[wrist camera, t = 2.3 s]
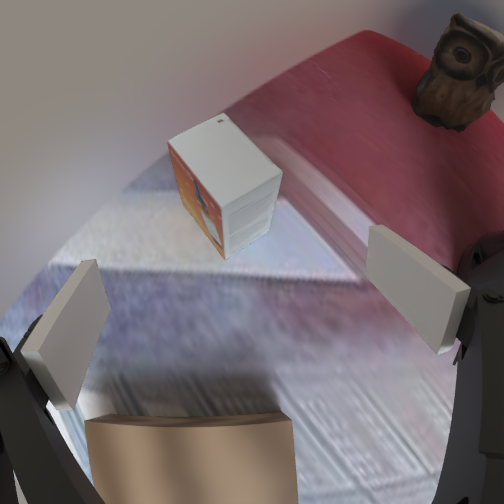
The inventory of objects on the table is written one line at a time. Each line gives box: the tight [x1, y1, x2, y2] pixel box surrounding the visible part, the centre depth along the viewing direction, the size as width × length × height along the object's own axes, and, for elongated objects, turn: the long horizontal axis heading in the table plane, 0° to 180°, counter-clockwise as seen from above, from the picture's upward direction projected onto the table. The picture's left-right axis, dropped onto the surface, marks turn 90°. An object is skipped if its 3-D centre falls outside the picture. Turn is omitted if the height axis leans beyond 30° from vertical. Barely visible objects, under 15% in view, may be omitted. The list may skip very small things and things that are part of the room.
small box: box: [167, 113, 283, 260], centre depth 27 cm, size 8×6×10 cm
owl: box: [412, 13, 504, 132], centre depth 32 cm, size 13×13×20 cm
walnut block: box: [84, 411, 298, 504], centre depth 20 cm, size 16×14×6 cm
